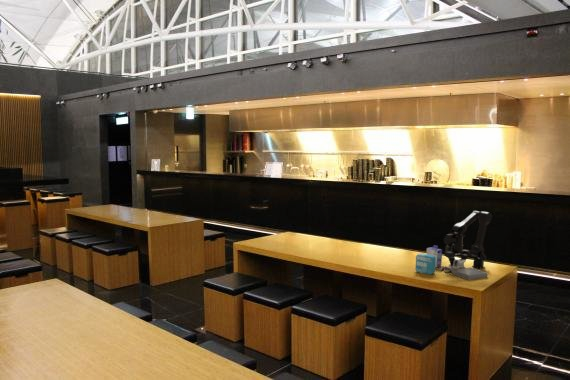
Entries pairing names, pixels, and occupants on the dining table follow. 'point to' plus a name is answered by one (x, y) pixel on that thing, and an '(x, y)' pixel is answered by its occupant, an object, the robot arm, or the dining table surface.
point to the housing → (458, 263)
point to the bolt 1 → (442, 268)
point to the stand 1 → (448, 268)
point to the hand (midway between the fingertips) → (456, 265)
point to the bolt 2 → (448, 271)
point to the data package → (425, 263)
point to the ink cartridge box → (436, 253)
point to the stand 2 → (469, 273)
